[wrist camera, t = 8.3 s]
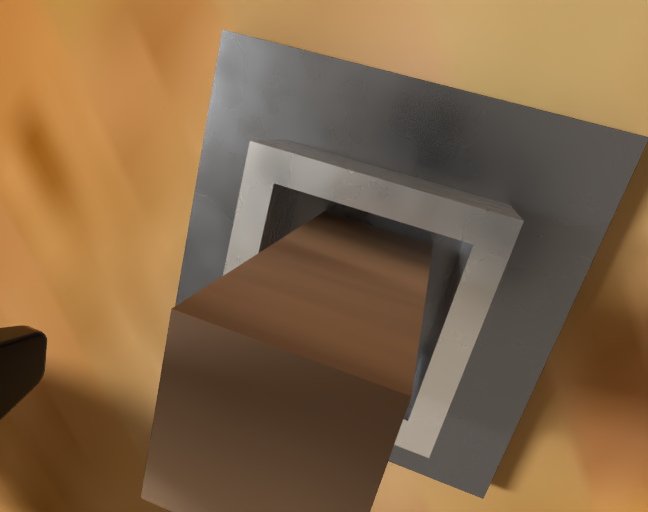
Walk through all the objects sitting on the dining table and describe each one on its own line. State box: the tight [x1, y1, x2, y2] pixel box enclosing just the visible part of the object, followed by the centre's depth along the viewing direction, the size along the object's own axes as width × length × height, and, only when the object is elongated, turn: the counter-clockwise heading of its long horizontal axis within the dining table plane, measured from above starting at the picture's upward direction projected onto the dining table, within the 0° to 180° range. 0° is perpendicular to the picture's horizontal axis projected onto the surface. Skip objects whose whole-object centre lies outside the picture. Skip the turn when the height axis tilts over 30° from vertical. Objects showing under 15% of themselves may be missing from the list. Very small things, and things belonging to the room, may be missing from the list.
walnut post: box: [141, 211, 433, 512], centre depth 13 cm, size 4×4×10 cm
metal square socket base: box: [175, 30, 648, 498], centre depth 16 cm, size 14×14×4 cm
